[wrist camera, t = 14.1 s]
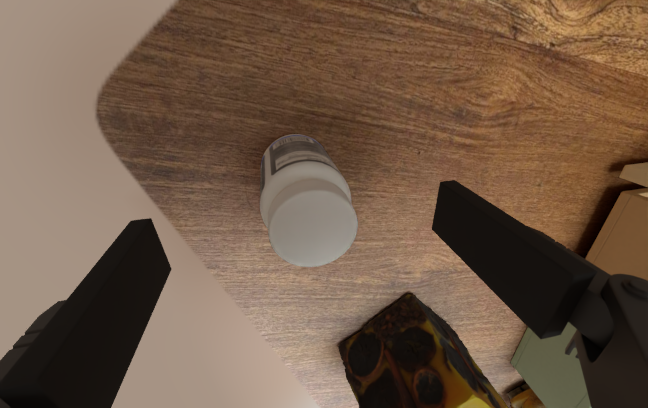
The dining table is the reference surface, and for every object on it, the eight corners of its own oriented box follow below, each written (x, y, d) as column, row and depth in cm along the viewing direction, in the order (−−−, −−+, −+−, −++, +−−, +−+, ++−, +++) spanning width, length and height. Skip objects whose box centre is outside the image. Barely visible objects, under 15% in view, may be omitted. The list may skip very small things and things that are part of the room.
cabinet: (552, 275, 31) (642, 345, 24) (648, 257, 33) (759, 316, 26) (510, 362, 39) (567, 434, 32) (589, 343, 41) (661, 407, 34)
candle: (335, 344, 29) (364, 463, 21) (409, 288, 27) (475, 395, 19) (387, 372, 34) (429, 479, 26) (453, 327, 32) (523, 426, 24)
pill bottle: (305, 206, 21) (327, 287, 14) (248, 177, 19) (238, 253, 12) (341, 155, 19) (387, 213, 12) (284, 117, 17) (297, 161, 10)
